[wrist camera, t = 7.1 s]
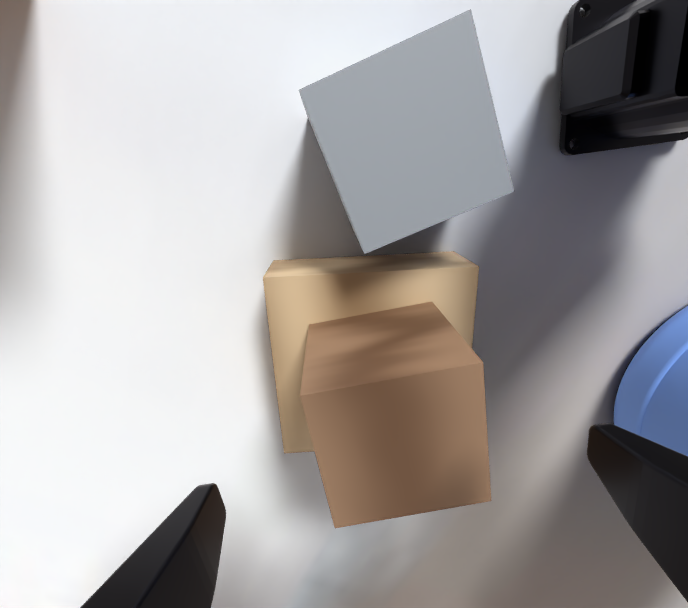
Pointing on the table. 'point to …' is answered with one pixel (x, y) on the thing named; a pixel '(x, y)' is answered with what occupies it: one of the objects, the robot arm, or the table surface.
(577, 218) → the table surface
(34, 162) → the table surface
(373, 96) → the slate cube
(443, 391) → the walnut cube
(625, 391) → the water jug
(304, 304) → the oak slab
